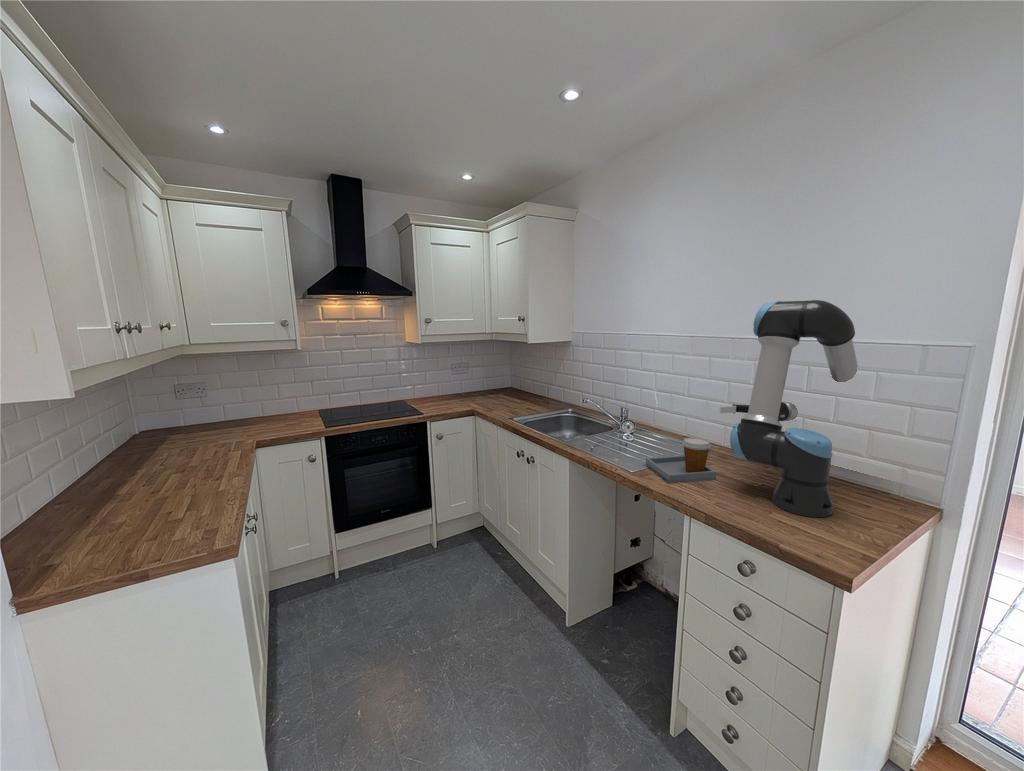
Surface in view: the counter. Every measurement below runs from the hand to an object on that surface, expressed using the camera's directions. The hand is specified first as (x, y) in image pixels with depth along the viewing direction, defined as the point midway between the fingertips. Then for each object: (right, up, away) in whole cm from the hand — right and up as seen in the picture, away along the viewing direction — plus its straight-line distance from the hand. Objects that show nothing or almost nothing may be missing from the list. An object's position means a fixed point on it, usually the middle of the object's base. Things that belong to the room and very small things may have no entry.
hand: (732, 413), depth 151 cm
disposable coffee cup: (-15, -22, -2) cm, 27 cm away
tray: (-20, -22, +1) cm, 30 cm away
